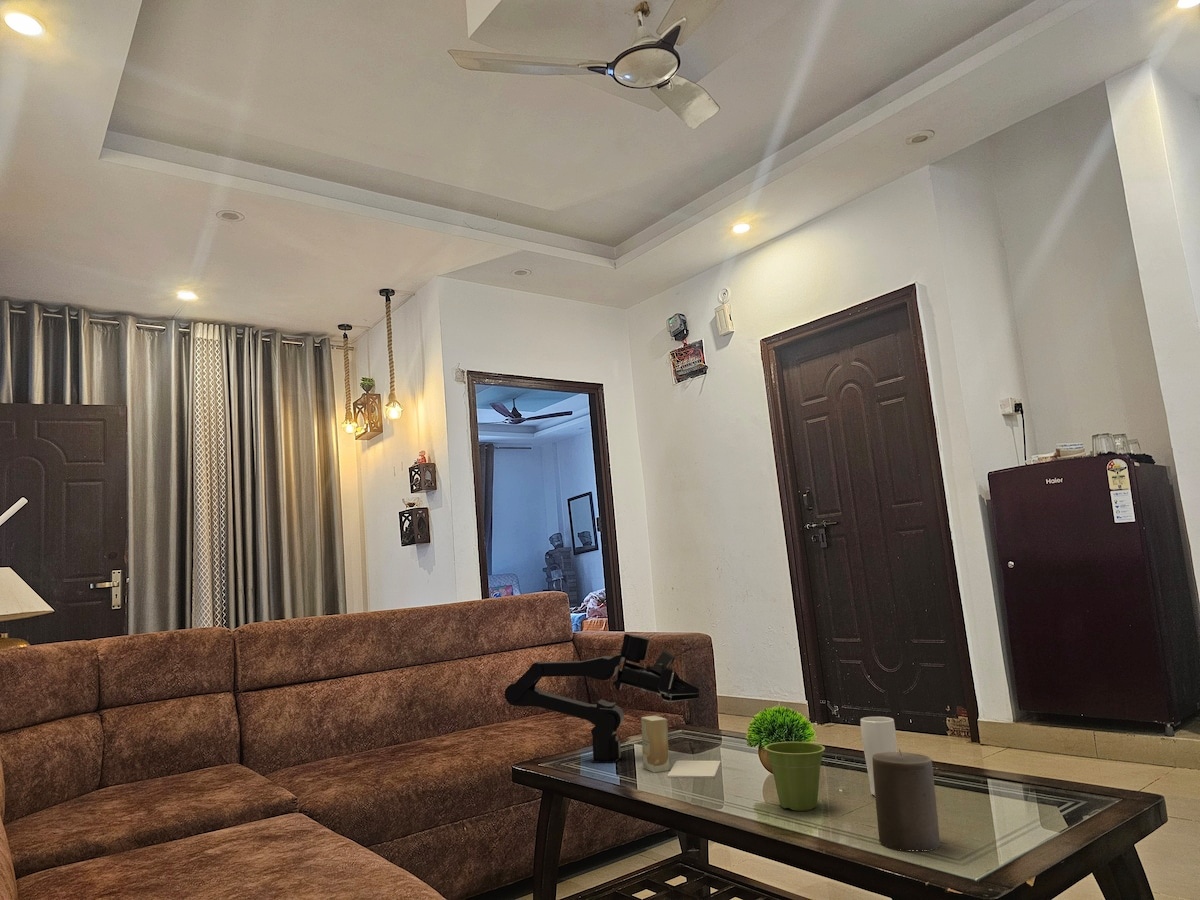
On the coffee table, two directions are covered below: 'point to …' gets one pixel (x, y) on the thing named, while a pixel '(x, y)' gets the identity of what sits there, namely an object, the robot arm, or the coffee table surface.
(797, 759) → the plant pot
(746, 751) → the coffee table surface
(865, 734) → the drinking glass
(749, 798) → the coffee table surface
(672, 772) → the mat
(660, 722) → the skincare box
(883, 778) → the pillar candle
